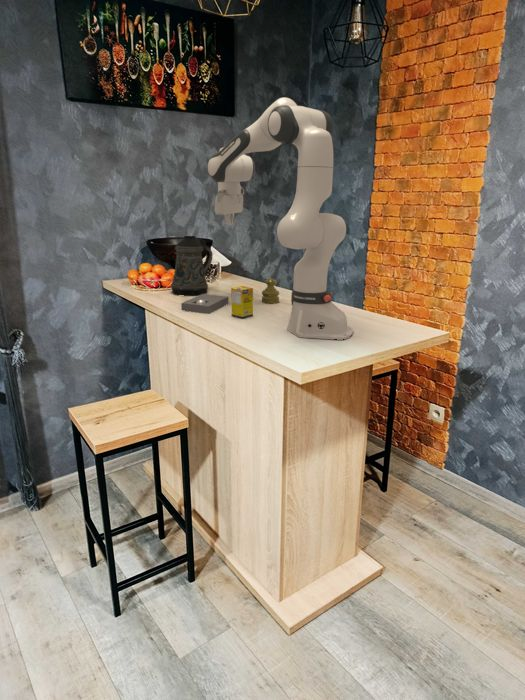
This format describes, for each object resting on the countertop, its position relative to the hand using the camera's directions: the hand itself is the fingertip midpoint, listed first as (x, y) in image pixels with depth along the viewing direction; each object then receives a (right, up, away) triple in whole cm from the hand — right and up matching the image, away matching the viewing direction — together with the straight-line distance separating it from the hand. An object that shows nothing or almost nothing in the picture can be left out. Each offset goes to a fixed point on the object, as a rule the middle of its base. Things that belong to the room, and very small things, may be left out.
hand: (229, 225), depth 203 cm
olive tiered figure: (+17, -31, +6) cm, 36 cm away
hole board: (-9, -34, -4) cm, 36 cm away
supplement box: (+6, -39, -16) cm, 43 cm away
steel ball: (-11, -33, -8) cm, 36 cm away
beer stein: (-19, -25, +23) cm, 39 cm away
